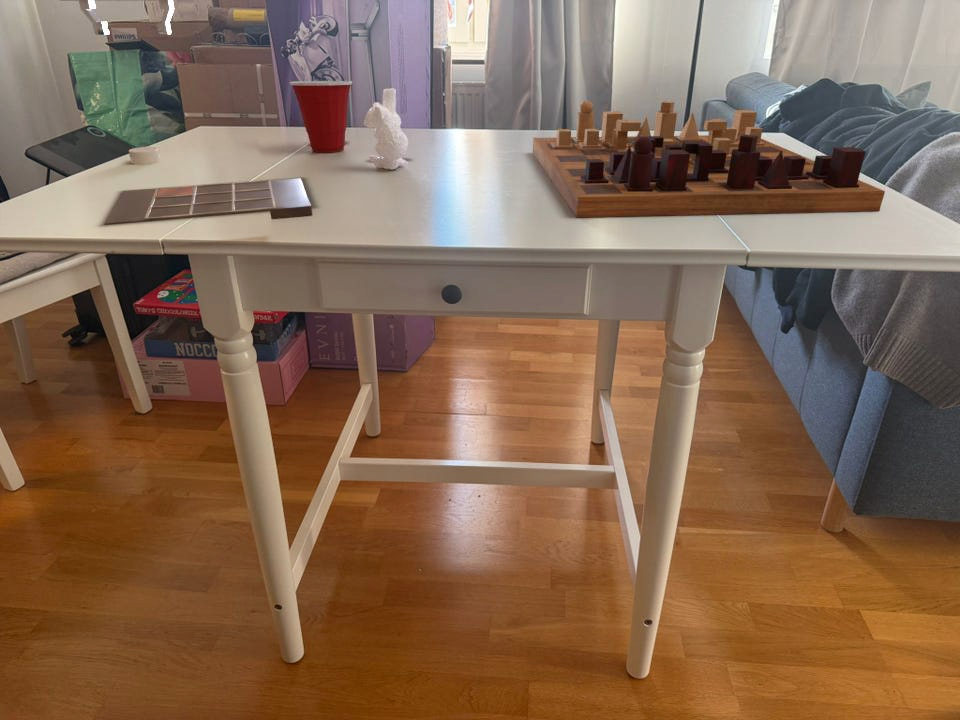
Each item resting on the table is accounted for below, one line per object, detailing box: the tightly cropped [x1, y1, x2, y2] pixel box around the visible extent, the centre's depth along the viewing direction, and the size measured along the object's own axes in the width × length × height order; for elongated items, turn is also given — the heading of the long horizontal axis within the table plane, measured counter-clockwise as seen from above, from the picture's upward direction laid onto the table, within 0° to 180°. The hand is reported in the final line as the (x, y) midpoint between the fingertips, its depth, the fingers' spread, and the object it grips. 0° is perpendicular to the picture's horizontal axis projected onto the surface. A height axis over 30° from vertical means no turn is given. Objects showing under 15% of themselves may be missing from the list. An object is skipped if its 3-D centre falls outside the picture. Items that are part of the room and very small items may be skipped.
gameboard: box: [532, 100, 886, 218], centre depth 102 cm, size 40×40×9 cm
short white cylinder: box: [128, 146, 162, 166], centre depth 110 cm, size 4×4×3 cm
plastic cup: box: [289, 80, 353, 154], centre depth 121 cm, size 11×11×12 cm
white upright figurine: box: [362, 87, 409, 171], centre depth 108 cm, size 8×7×12 cm
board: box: [103, 177, 313, 226], centre depth 89 cm, size 24×16×1 cm, turn 108°
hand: (133, 34), depth 104 cm, fingers open, 8 cm apart
